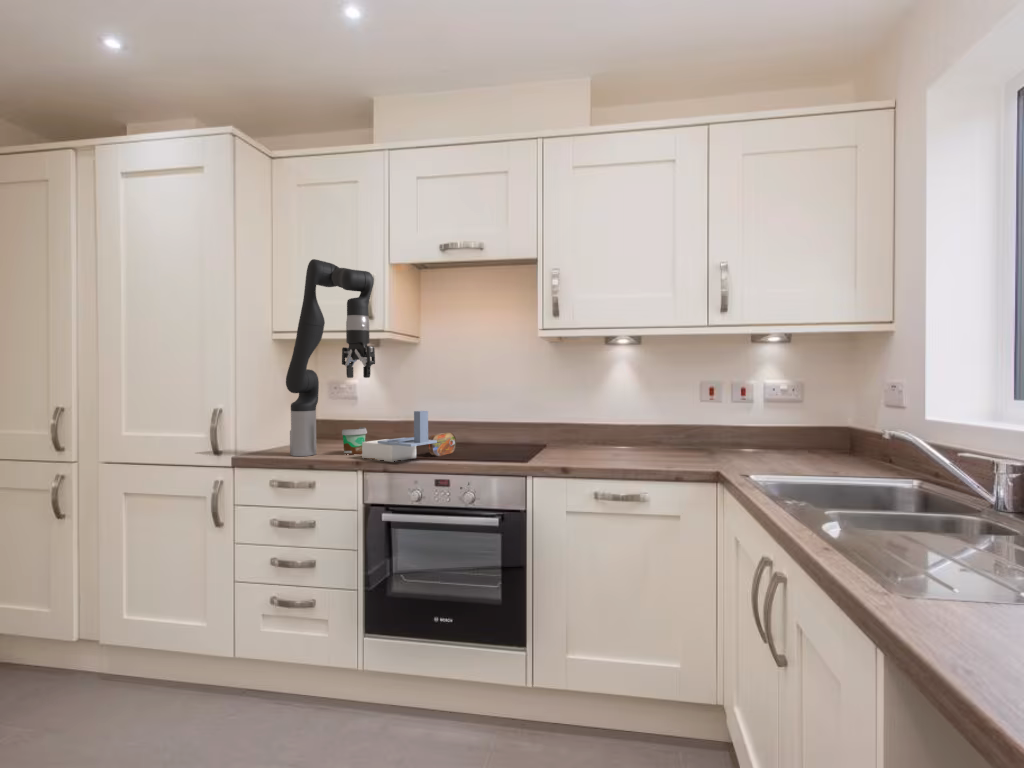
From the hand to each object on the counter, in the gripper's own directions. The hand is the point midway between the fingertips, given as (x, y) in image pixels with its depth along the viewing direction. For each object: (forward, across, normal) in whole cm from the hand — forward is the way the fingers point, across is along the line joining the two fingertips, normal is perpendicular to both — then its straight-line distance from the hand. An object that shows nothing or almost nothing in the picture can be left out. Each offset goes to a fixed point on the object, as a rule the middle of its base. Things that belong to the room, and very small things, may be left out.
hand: (358, 377), depth 187 cm
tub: (+30, +6, -19) cm, 36 cm away
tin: (+30, -4, -37) cm, 48 cm away
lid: (+24, -4, -19) cm, 31 cm away
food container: (+30, +25, -20) cm, 44 cm away
